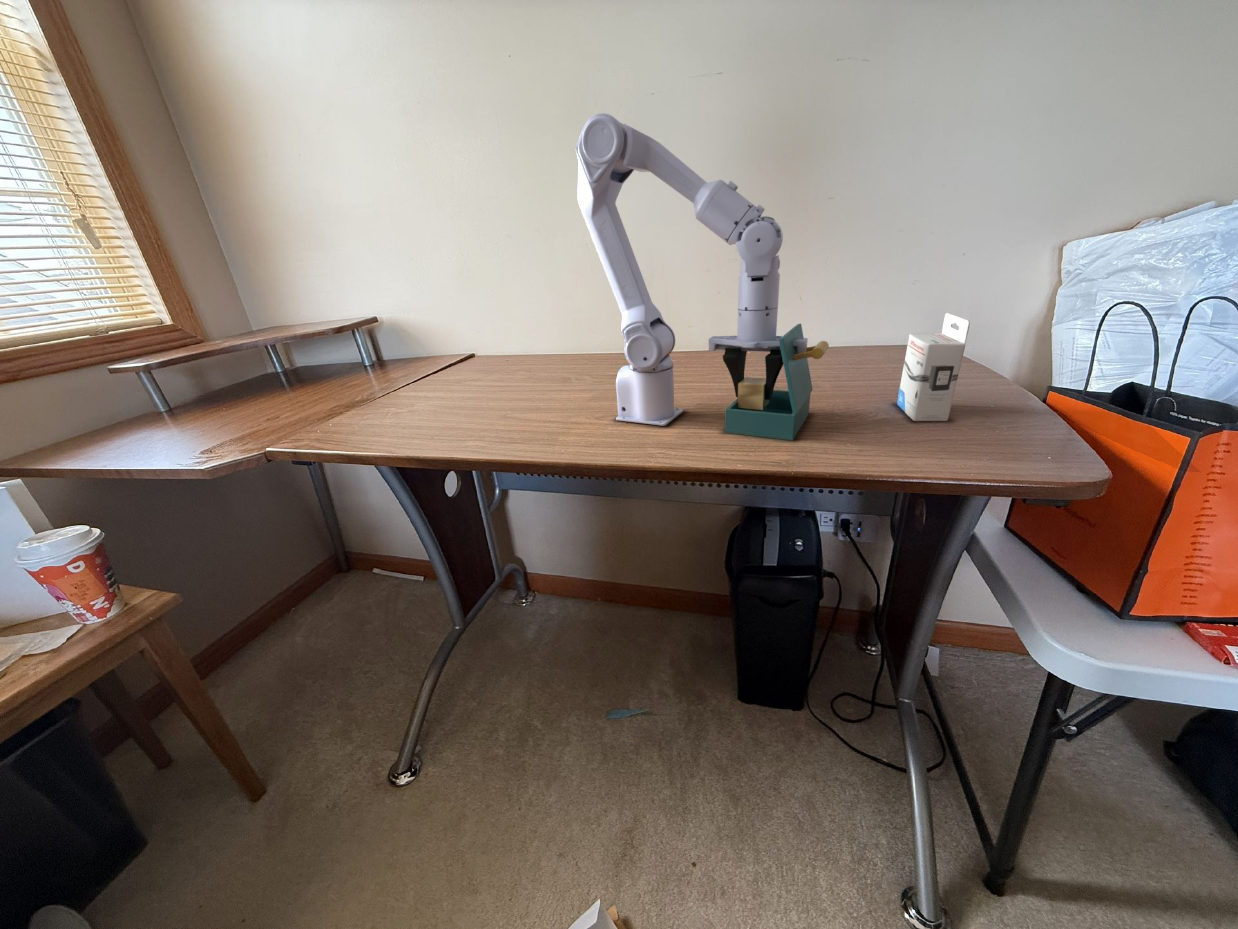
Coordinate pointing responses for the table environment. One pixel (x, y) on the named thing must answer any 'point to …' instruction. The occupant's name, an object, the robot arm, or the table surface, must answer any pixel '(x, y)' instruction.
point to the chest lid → (798, 366)
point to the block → (752, 393)
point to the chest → (767, 418)
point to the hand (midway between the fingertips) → (753, 396)
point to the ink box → (932, 371)
